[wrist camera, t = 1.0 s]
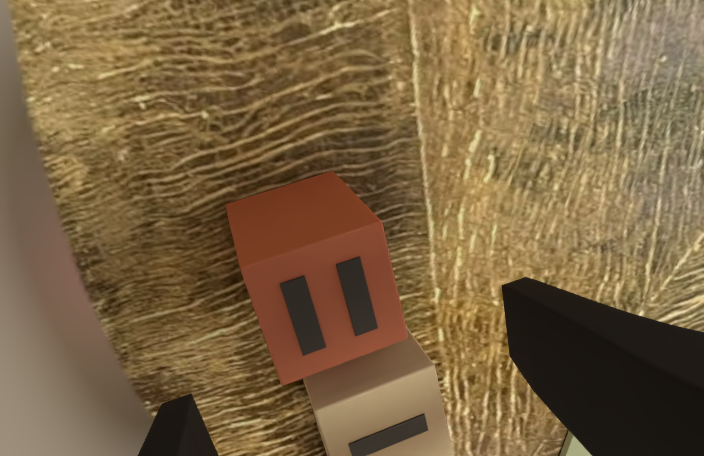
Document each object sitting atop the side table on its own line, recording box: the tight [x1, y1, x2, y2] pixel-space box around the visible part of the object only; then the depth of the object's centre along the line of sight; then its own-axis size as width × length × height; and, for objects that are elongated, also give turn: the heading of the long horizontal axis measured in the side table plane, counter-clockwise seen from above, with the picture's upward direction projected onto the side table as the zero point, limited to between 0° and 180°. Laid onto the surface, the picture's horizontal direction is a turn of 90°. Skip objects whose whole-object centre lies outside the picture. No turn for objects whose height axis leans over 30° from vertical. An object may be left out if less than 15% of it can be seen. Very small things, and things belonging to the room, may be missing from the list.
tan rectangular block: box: [303, 326, 453, 456], centre depth 20 cm, size 4×4×6 cm
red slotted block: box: [225, 171, 408, 385], centre depth 18 cm, size 4×4×6 cm
